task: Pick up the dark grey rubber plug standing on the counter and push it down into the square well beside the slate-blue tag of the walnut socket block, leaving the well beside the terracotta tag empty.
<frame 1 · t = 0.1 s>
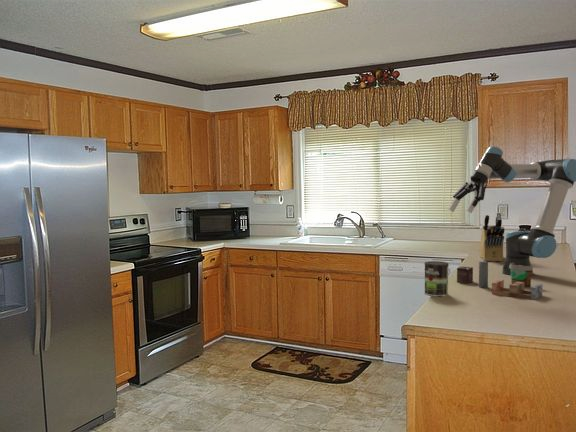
hand: (459, 211, 251), 36 cm above the counter, tool tilted 35°, fingers open, 13 cm apart
knife block: (491, 259, 333), on the counter
box: (464, 282, 260), on the counter
plug: (483, 287, 246), on the counter
coffee can: (436, 294, 232), on the counter
food container: (517, 285, 249), on the counter
socket block: (516, 294, 228), on the counter
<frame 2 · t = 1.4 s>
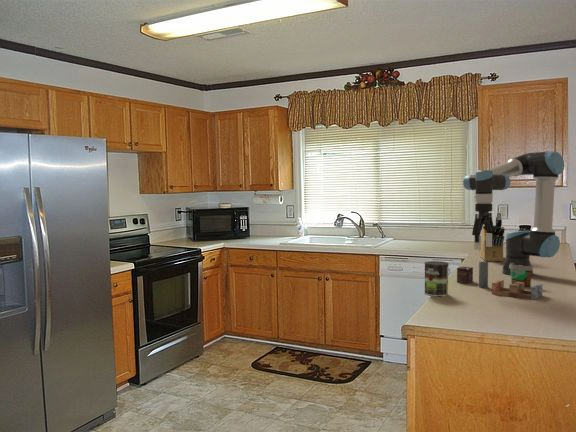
hand: (483, 248, 245), 19 cm above the counter, tool pointing down, fingers open, 13 cm apart
nothing on the counter moved.
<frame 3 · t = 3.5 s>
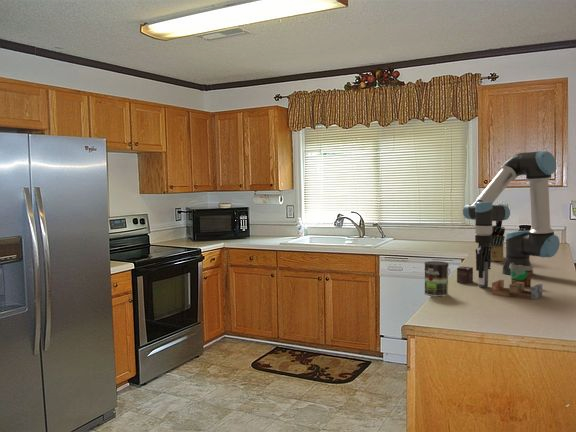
hand: (483, 283, 246), 2 cm above the counter, tool pointing down, fingers closed on plug, 4 cm apart
plug: (483, 287, 246), on the counter, touching gripper
everything else where it was.
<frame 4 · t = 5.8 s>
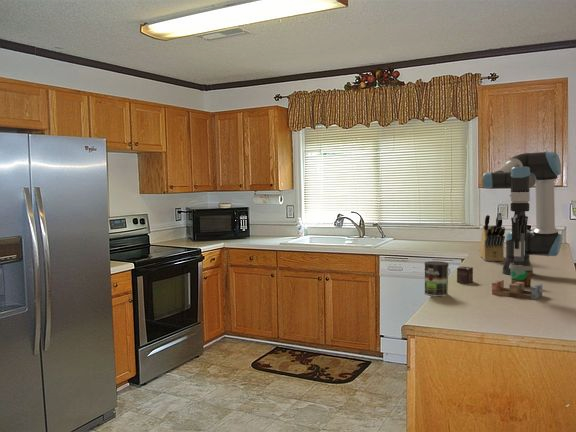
hand: (519, 255, 228), 17 cm above the counter, tool pointing down, fingers closed on plug, 4 cm apart
plug: (519, 260, 228), point 15 cm above the counter, touching gripper
everything else where it was.
when the fingers open (4 cm above the counter, at t = 8.3 s): plug stays where it is, resting in socket block.
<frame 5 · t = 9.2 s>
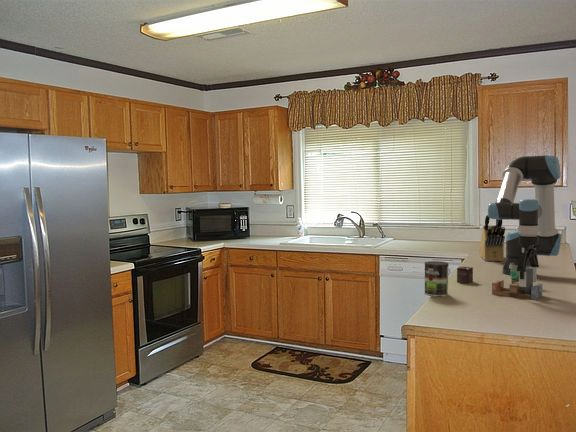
hand: (527, 284, 225), 5 cm above the counter, tool pointing down, fingers open, 13 cm apart
plug: (527, 296, 225), resting in socket block
everything else where it was.
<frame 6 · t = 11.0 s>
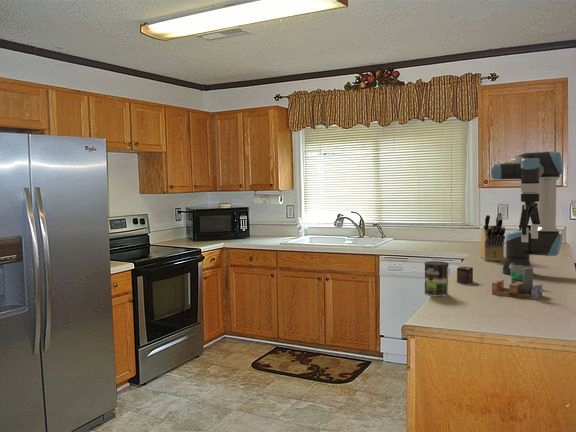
hand: (529, 240, 234), 23 cm above the counter, tool pointing down, fingers open, 13 cm apart
nothing on the counter moved.
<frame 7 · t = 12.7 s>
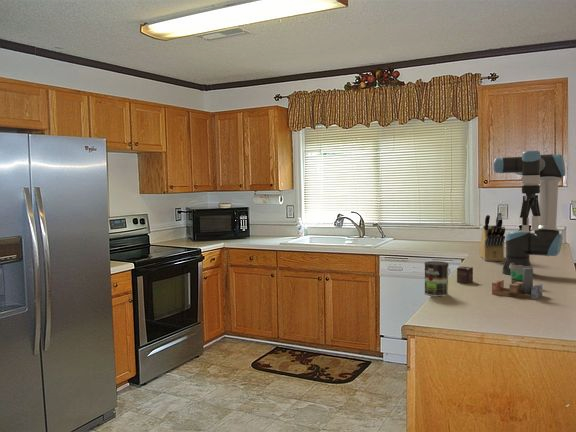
hand: (530, 231, 239), 27 cm above the counter, tool pointing down, fingers open, 13 cm apart
nothing on the counter moved.
at the end: plug 0.2 cm from the target spot, resting in socket block; plug tilted 0°; the gripper is holding nothing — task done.
